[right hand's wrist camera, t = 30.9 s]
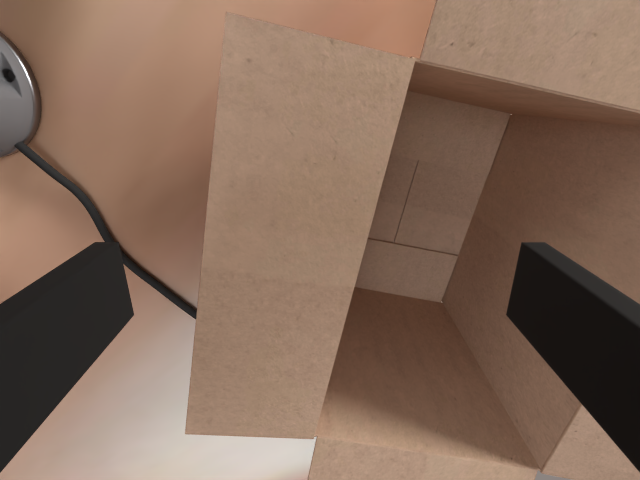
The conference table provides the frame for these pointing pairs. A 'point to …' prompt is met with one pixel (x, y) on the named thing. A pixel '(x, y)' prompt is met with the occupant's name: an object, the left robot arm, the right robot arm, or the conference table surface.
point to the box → (414, 237)
